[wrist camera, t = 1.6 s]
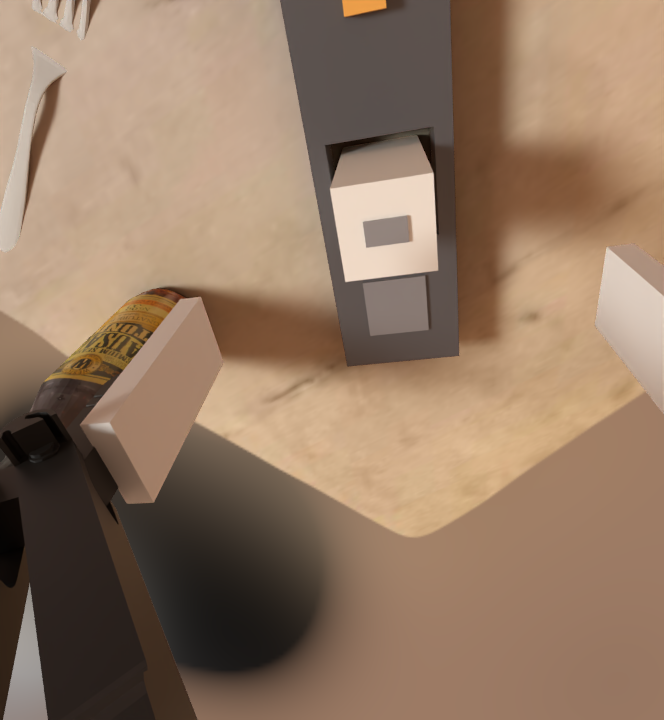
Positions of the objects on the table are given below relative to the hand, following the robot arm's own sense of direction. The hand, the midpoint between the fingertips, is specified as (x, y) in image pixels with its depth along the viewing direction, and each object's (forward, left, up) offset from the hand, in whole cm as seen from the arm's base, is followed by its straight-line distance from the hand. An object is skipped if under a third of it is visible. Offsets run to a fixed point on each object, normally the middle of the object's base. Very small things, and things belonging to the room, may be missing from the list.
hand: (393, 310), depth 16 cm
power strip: (-2, 0, -17) cm, 17 cm away
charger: (0, 0, -17) cm, 17 cm away
